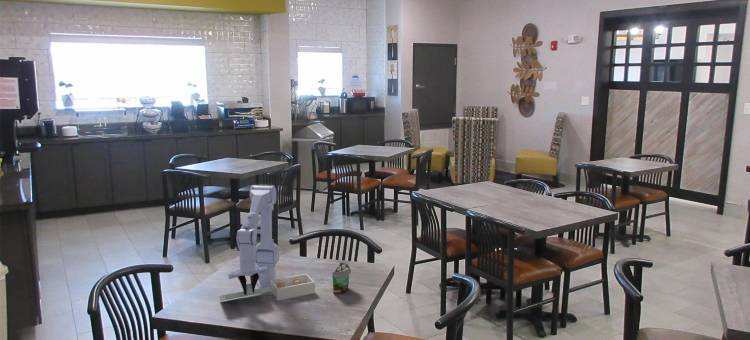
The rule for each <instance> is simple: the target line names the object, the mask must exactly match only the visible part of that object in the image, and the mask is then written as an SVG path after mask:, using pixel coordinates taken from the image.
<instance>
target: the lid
mask: <svg viewBox="0 0 750 340" xmlns="http://www.w3.org/2000/svg"><path fill="white" fill-rule="evenodd" d="M246 290H247V295H245V294H244V292H243V291H239V292H235V293H227V294H224V295H220V296H219V302H222V301H227V300H233V299H238V298H244V297H248V296H249V297H250V296H254V295H260V294H264V293H269V292H270V293H271V291H270V287H266V288H260V287H259V288H255V290H254V293H253V291H252V284H251V283H246Z"/></svg>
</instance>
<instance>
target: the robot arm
mask: <svg viewBox="0 0 750 340" xmlns="http://www.w3.org/2000/svg"><path fill="white" fill-rule="evenodd" d="M249 198H250V201H251V204H250V210H249V212H248V213H246V214H245V216H244V219H243V223H242V225H241V228H240V229H238V230H237V232H236V237H235V239H236V240H235V241H236V244H237V249H238V251H239V269H237V270H234V271H231V272H228V273H227V275H228V280H233V279H236V278H238V280H239V282H240V285H241V288H242V292H244V294H245V295H247V290H246V284H247V281H248V280H247V277H249V278H250V284H252V291H253V293H254V290H255V289H256V285H258V286H259V289H260V288H266V287H270V280H273V279H277V275H276V272H277V271H276V265H277V264H278V263H279V261H280V250H279V245H278V244H276V243H275V242H274V241H273V205H275V204H277V188H276V187H275V185H256V184H255V185H254V184H252V185H251V186H250V188H249ZM259 215H260V216H259ZM259 224H260V242H258V243H257V239H258V238H257V237H258V227H259ZM256 243H257V244H256Z"/></svg>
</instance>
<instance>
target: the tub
mask: <svg viewBox="0 0 750 340" xmlns="http://www.w3.org/2000/svg"><path fill="white" fill-rule="evenodd" d="M270 294H272V296H273V297H274V298H275V300H276V301H283V300H288V299H294V298H298V297H303V296H308V295H313V294H316V282H315V281H314V280H313V278H312V277H310V276H309V274H308V273H302V274H297V275H290V276H285V277H280V278H276V279H273V280H270Z"/></svg>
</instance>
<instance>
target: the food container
mask: <svg viewBox="0 0 750 340" xmlns="http://www.w3.org/2000/svg"><path fill="white" fill-rule="evenodd" d="M351 273H352V269H351V266H350V265H349V264H348V263H345V262H339V265H338V267H336V269H335V271H332V273H331V274H332V288H333V289H332V290H333V291H332V292H333V294H334V295H341V294H344V293H347V292H348V291H349V284H350V282H349V281H350V274H351Z"/></svg>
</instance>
